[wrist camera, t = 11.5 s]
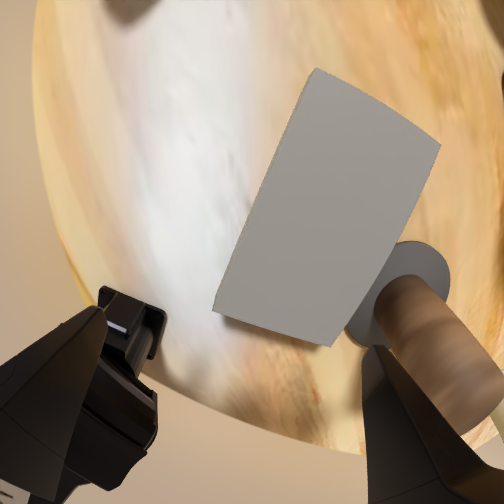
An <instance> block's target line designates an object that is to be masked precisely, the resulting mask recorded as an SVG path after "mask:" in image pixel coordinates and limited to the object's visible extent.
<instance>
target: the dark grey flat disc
mask: <svg viewBox="0 0 504 504" xmlns="http://www.w3.org/2000/svg"><path fill="white" fill-rule="evenodd" d="M407 274H413V275H417V276H419V277H420V278H422V279H423V280H424V281H425V282H426V283H427V284H428V285H429V286H430V287H431V289H432V290H433V291H434V292H435V293H436V294H437V295H438V296H439V297H440V298H441V299H442V300H443V301H444V302H445V303H446V300H447V297H448V294H449V289H450V272H449V268H448V265H447V263H446V261H445V259H444V258H443V256H442V255H441V254H440V253H439V252H438V251H436V250H435V249H434V248H432V247H431V246H429V245H427V244H425V243H422V242H418V241H404V242H399V243H396V244H395V246H394V248H393V250H392V252H391V253H390V255H389V257H388V259H387V260H386V262H385V264H384V266H383V267H382V269H381V271H380V273H379V274H378V276H377V278H376V279H375V281H374V283H373V284H372V286H371V288H370V289H369V291H368V292H367V294H366V296H365V297H364V299H363V300H362V302H361V303H360V305H359V307H358V308H357V310H356V311H355V313H354V314H353V316H352V317H351V319H350V320H349V322H348V323H347V328H348V330H349V332H350V334H351V335H352V337H353V338H354V339H355V340H356V341H357V342H358V343H360V344H361V345H363V346H365V347H368V348H370V346H371V345H372V344H383V345H385V346H386V348H387V349H390V348H391V346H390V344H389V342H388V341H387V339H386V337H385V335H384V333H383V332H382V330H381V328H380V326H379V324H378V323H377V321H376V319H375V316H374V304H375V301H376V299H377V297H378V295H379V293H380V292H381V290H382V289H383V288H384V287H385V286H386V285H387V284H388V283H389V282H390V281H392V280H393V279H395V278H397V277H399V276H402V275H407Z"/></svg>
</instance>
